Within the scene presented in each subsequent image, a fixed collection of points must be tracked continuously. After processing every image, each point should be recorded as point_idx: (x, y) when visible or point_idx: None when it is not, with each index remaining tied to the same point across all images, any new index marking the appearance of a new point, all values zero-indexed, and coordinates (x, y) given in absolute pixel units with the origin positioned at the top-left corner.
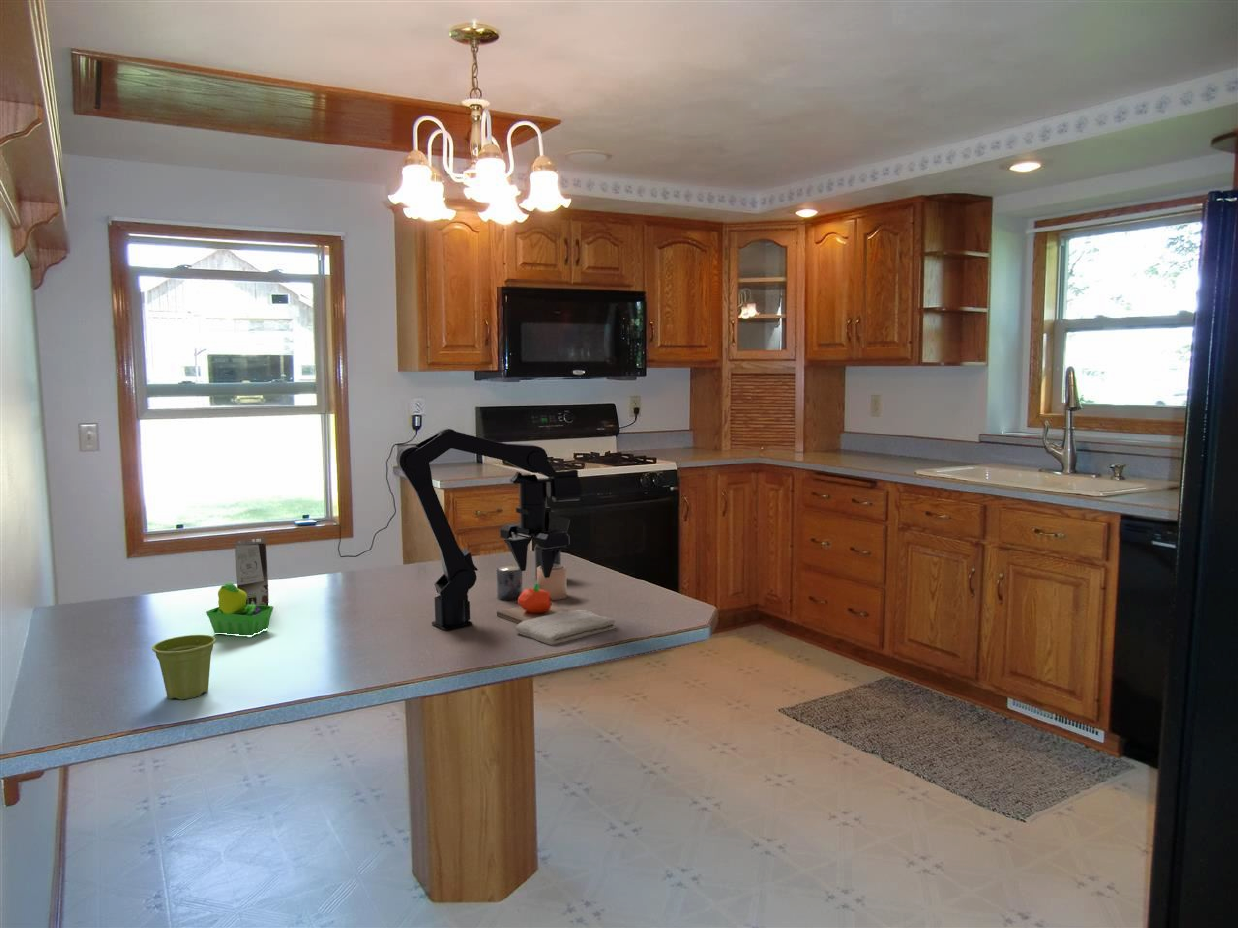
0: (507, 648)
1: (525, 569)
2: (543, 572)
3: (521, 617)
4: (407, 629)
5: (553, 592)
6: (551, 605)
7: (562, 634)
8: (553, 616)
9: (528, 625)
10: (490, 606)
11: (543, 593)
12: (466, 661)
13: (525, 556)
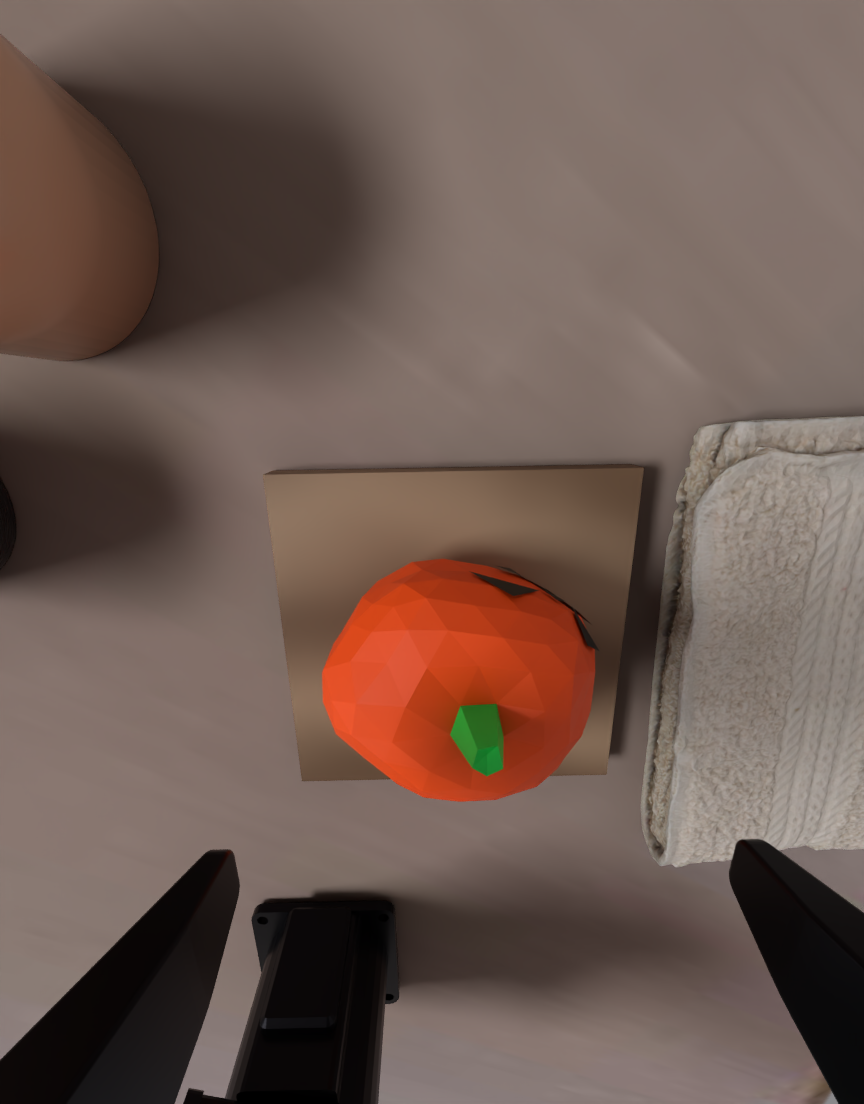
0: None
1: (227, 861)
2: (788, 976)
3: None
4: None
5: (114, 278)
6: (389, 477)
7: None
8: (727, 694)
9: None
10: (98, 700)
11: (571, 709)
12: (764, 1056)
13: (96, 1099)
